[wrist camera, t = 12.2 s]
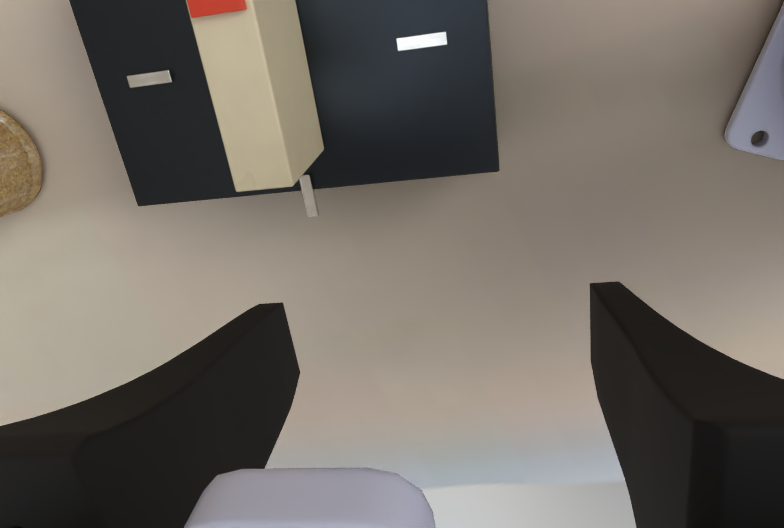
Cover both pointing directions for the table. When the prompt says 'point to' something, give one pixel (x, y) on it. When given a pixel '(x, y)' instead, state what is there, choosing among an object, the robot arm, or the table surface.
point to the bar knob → (259, 88)
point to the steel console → (330, 88)
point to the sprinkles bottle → (17, 167)
